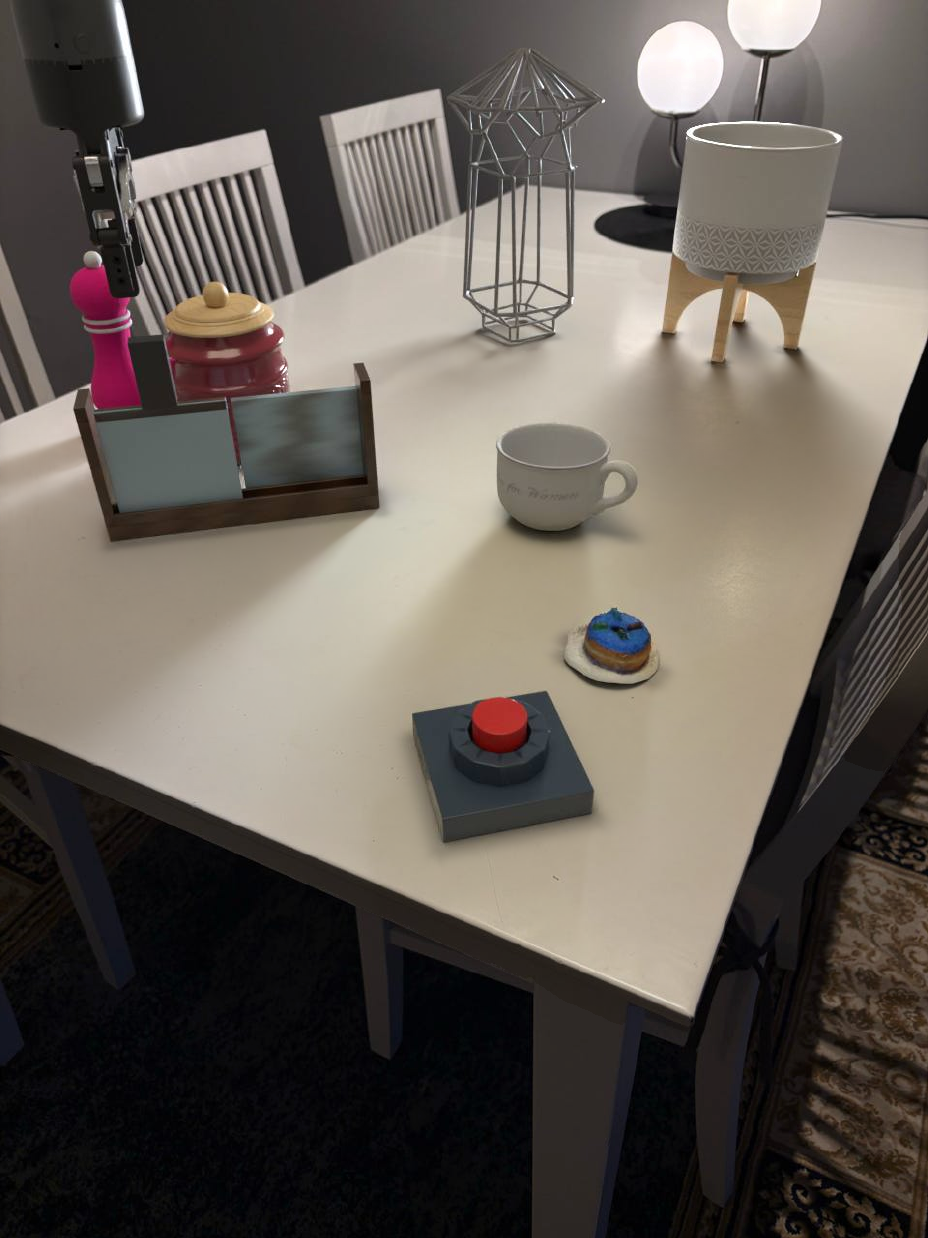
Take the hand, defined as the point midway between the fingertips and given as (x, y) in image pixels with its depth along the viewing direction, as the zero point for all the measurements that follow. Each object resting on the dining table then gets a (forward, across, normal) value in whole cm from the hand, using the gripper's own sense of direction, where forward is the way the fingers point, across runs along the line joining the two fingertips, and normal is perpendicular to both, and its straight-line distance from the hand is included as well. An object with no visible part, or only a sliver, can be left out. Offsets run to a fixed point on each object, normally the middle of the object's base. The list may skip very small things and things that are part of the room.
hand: (129, 280), depth 75 cm
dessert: (+24, +29, +33) cm, 50 cm away
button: (+20, +39, +21) cm, 49 cm away
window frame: (+23, -1, +6) cm, 24 cm away
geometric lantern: (+24, -45, +47) cm, 69 cm away
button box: (+24, +39, +21) cm, 50 cm away
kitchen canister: (+24, -18, +6) cm, 30 cm away
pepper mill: (+24, -24, -6) cm, 34 cm away
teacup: (+24, +8, +36) cm, 44 cm away
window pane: (+22, 0, 0) cm, 22 cm away
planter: (+24, -33, +75) cm, 86 cm away
